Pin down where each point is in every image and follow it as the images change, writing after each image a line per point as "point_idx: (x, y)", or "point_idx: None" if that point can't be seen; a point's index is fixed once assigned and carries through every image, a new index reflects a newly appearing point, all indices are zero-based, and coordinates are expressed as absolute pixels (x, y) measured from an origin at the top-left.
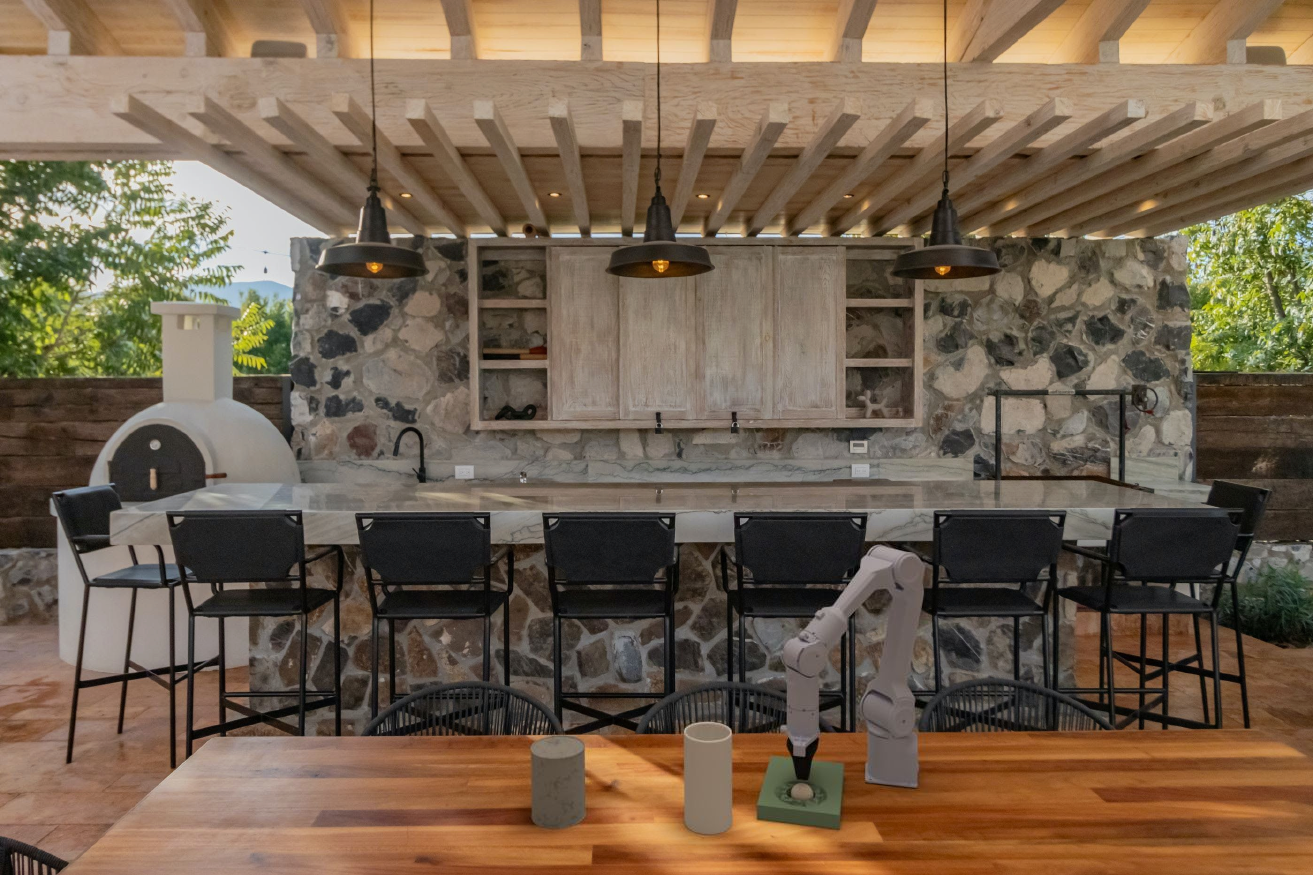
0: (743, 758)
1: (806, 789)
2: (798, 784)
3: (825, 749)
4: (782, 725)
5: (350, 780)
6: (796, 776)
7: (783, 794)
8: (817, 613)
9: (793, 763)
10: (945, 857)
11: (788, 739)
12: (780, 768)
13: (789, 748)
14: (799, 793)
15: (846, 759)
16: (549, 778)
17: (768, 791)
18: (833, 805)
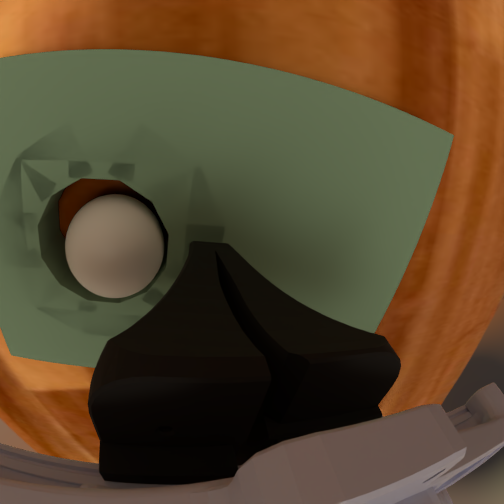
0: (472, 51)
1: (86, 284)
2: (104, 255)
3: (466, 286)
4: (451, 460)
5: None
6: (191, 245)
7: (71, 167)
8: None
9: (177, 277)
10: (37, 440)
11: (258, 388)
12: (353, 157)
13: (98, 363)
14: (68, 248)
15: (415, 331)
16: None
17: (88, 88)
18: (53, 347)
